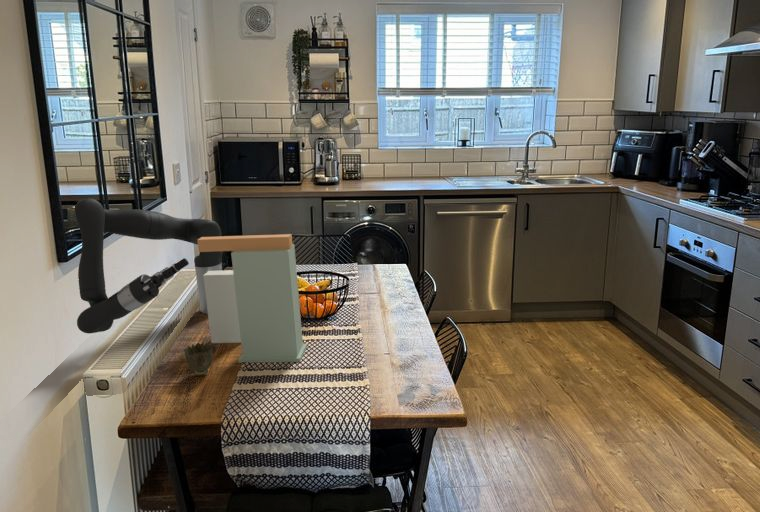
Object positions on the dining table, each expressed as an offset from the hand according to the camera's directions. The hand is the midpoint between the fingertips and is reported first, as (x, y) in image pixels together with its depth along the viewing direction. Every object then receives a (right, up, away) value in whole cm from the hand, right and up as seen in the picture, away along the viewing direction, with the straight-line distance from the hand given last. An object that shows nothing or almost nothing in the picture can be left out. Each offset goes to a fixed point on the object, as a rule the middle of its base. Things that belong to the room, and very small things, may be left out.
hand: (181, 264), depth 176 cm
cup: (+8, -30, -6) cm, 32 cm away
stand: (+26, -26, +5) cm, 37 cm away
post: (+9, -24, +18) cm, 31 cm away
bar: (+19, +4, -3) cm, 20 cm away
